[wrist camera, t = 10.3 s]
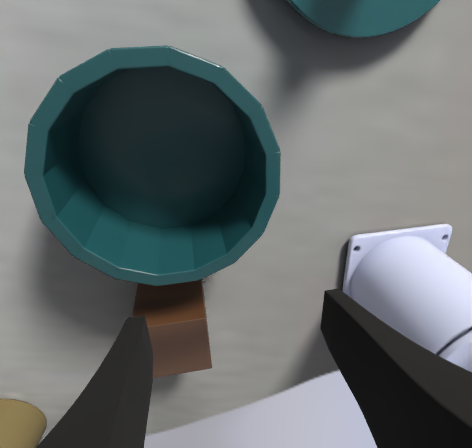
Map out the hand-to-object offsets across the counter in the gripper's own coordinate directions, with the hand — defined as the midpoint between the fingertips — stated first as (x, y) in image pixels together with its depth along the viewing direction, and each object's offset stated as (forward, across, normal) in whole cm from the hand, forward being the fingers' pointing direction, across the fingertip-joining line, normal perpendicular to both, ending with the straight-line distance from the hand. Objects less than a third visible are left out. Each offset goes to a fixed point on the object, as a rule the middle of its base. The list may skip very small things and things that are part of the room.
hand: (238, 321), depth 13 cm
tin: (+9, +3, -4) cm, 11 cm away
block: (+9, +3, +6) cm, 12 cm away
